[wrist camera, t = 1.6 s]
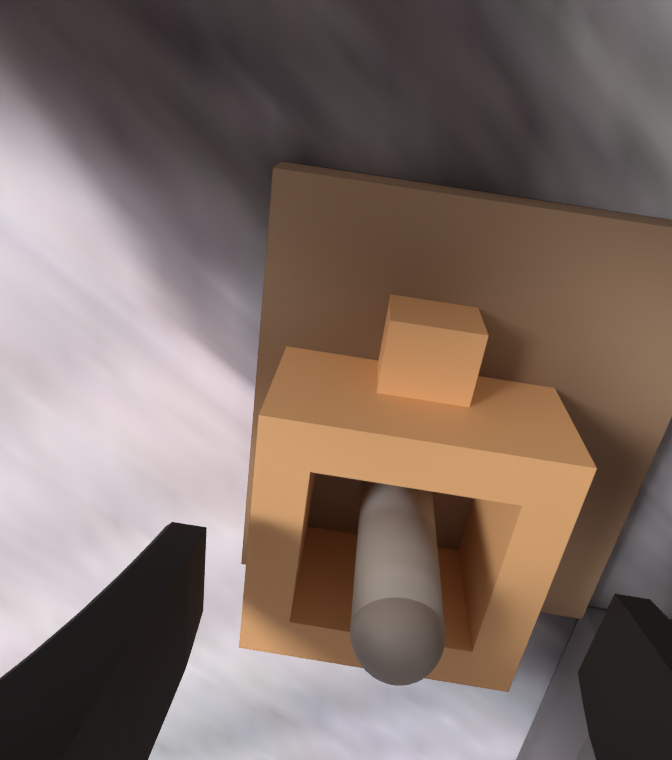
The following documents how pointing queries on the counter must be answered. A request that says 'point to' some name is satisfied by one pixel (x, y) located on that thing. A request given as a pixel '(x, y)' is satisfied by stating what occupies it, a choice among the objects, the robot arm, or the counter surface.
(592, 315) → the stake board
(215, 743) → the counter surface
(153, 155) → the counter surface
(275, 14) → the counter surface
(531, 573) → the ring
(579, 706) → the tray
